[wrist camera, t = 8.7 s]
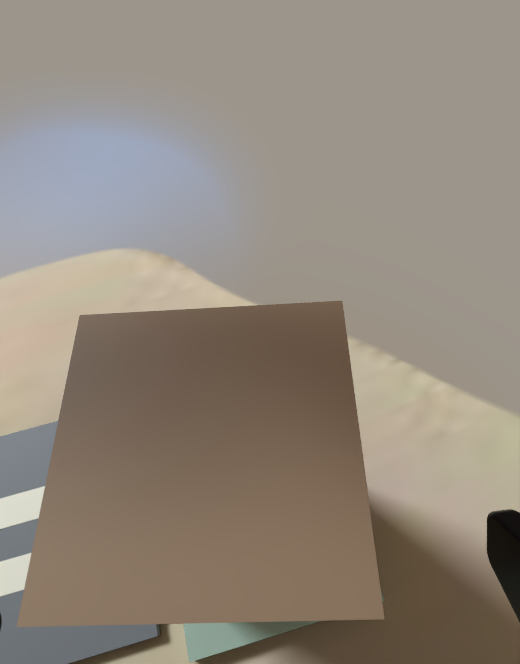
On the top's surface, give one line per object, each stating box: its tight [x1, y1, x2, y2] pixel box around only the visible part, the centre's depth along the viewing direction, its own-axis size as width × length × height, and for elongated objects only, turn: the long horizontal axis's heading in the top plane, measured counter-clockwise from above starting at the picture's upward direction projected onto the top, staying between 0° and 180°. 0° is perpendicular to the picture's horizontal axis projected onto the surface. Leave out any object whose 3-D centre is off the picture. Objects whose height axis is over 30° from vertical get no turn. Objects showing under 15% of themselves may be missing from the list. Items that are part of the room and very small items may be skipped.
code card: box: [0, 421, 161, 664], centre depth 18 cm, size 9×9×1 cm
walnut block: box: [17, 301, 384, 627], centre depth 12 cm, size 4×4×12 cm
